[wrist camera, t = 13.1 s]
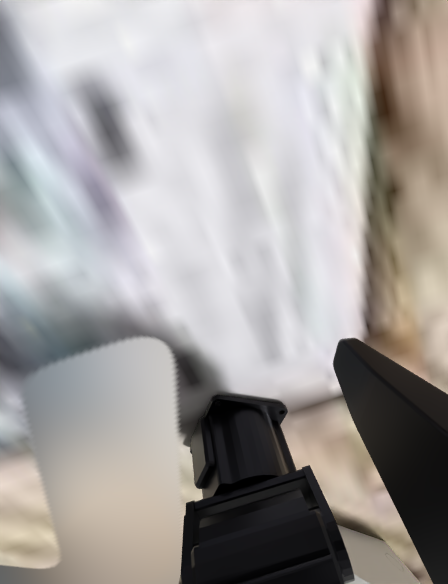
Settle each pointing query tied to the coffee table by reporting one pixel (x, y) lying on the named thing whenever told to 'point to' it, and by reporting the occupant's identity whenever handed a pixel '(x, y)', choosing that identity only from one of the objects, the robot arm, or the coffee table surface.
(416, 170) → the coffee table surface
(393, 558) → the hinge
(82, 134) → the coffee table surface
